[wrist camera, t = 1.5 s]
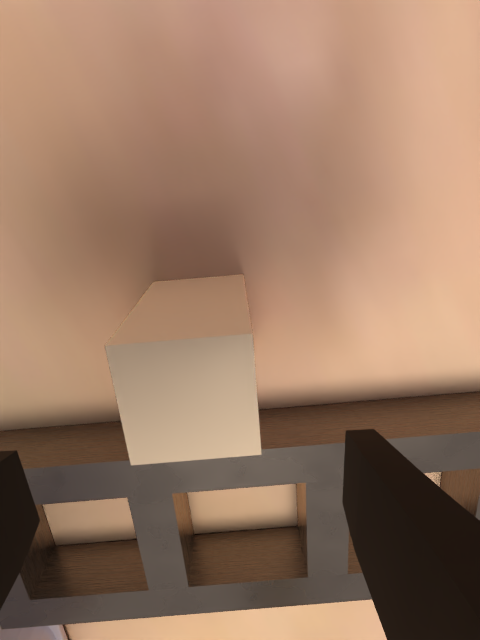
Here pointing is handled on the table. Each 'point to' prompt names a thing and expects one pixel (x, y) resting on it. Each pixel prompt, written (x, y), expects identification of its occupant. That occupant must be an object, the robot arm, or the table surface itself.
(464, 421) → the grey metal slotted frame
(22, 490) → the robot arm
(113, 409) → the table surface
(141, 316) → the peg
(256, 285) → the table surface
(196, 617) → the table surface
